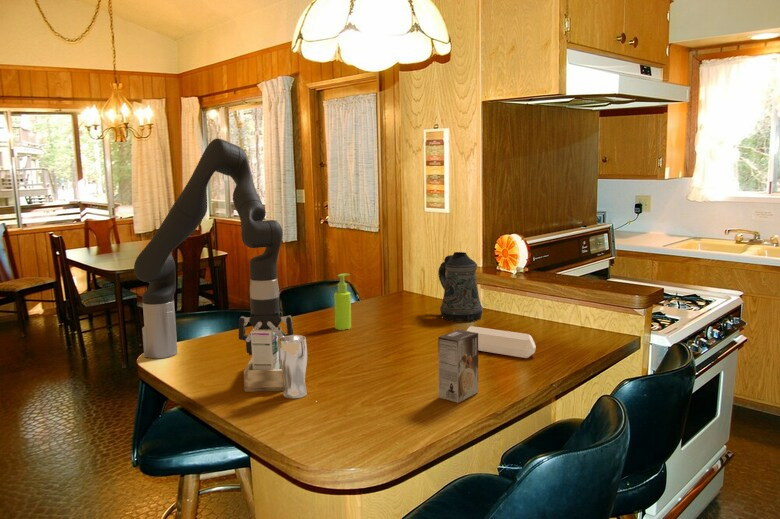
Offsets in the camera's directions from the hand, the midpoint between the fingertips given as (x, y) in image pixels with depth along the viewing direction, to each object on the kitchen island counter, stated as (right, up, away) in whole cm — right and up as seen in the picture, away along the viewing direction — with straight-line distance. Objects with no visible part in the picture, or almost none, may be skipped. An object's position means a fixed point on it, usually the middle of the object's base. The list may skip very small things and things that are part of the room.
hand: (267, 354), depth 163 cm
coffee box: (+51, -9, -9) cm, 52 cm away
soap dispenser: (+16, 0, +58) cm, 60 cm away
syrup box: (0, -7, +1) cm, 7 cm away
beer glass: (+9, -10, -7) cm, 15 cm away
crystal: (+67, -4, +28) cm, 73 cm away
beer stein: (+60, +3, +73) cm, 94 cm away
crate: (0, -8, +6) cm, 10 cm away
